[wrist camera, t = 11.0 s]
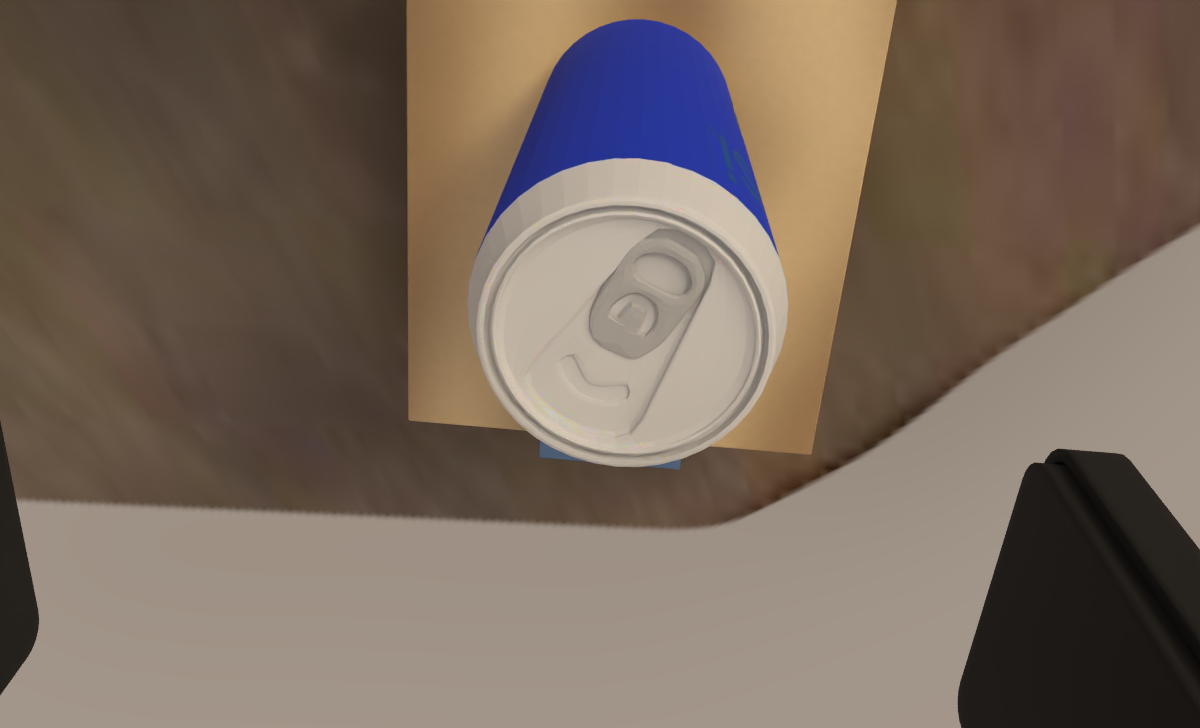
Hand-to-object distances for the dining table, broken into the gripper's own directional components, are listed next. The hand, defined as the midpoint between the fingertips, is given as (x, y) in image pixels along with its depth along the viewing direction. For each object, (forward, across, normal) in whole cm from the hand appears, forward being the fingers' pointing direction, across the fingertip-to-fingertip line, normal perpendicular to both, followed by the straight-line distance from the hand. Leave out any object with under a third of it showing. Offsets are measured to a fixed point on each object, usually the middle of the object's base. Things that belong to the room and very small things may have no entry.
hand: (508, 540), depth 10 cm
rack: (+29, -2, +4) cm, 29 cm away
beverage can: (+22, -2, +1) cm, 22 cm away
